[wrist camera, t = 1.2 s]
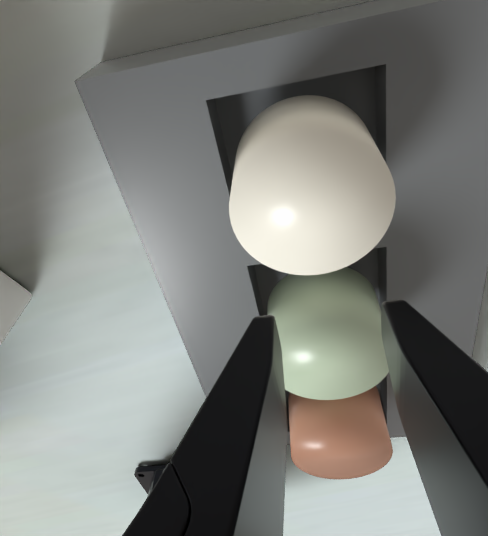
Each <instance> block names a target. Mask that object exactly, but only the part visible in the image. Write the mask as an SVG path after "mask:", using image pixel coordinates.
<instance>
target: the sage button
mask: <svg viewBox="0 0 488 536" xmlns="http://www.w3.org/2000/svg"><path fill="white" fill-rule="evenodd" d="M267 315H273V316H274V317H275V320H276V324H277V329H278V334H279V338H280V343H281V349H282V360H283V372H284V384H285V390H287V391H289V392H291V393H293V394H295V395H298V396H301V397H304V398H309V399H316V400H336V399H343V398H348V397H352V396H355V395H358V394H361V393H363V392H365V391H367V390H369V389H371V388H373V387H374V386H376V385H377V384H378V383H380V382H381V381H382V380H383V379H384V378H385V377H386V375H387V374H388V373H389V369H388V364H387V359H386V355H385V350H384V346H383V341H382V333H381V309H380V306H379V303H378V299H377V296H376V293H375V290H374V288H373V286H372V284H371V283H370V282H369V281H368V280H367V279H366V278H365V277H364V276H363V275H362V274H360V273H359V272H357V271H355V270H353V269H350V268H347V267H344V268H342V269H339V270H337V271H333V272H330V273H325V274H319V275H294V274H288V275H287V276H285V277H284V278H283V279H282V280H281V281H279V282H278V283H277V285H276V286H275V287H274V288H273V290H272V292H271V294H270V296H269V299H268V306H267Z"/></svg>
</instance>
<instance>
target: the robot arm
mask: <svg viewBox="0 0 488 536" xmlns="http://www.w3.org/2000/svg"><path fill="white" fill-rule="evenodd" d="M381 333H382V341H383V346H384V350H385V355H386V359H387V364H388V369H389V373H390V378H391V382H392V387H393V391H394V396H395V400H396V405H397V408H398V412H399V416H400V419H401V422H402V425H403V428H404V431H405V434H406V437H407V440H408V443H409V445H410V448H411V451H412V454H413V457H414V459H415V462H416V465H417V468H418V471H419V474H420V476H421V479H422V482H423V485H424V488H425V491H426V493H427V496H428V499H429V502H430V505H431V508H432V510H433V513H434V516H435V519H436V522H437V525H438V527H439V530H440V533H441V536H488V372H487V371H486V370H485V369H484V368H483V367H481V366H480V365H479V364H478V363H477V362H476V361H475V360H473V359H472V358H471V357H470V356H469V355H468V354H466V353H465V352H464V351H463V350H462V349H461V348H460V347H458V346H457V345H456V344H455V343H454V342H453V341H451V340H450V339H449V338H448V337H447V336H446V335H445V334H443V333H442V332H441V331H440V330H439V329H438V328H436V327H435V326H434V325H433V324H432V323H431V322H430V321H428V320H427V319H426V318H425V317H424V316H423V315H421V314H420V313H419V312H418V311H417V310H416V309H415V308H413V307H412V306H411V305H410V304H409V303H408V302H406V301H405V300H392V301H385V302H383V303H382V305H381ZM286 449H287V409H286V397H285V384H284V372H283V360H282V349H281V343H280V338H279V334H278V329H277V324H276V320H275V317H274V316H273V315H264V316H256V317H254V318H253V319H252V321H251V322H250V324H249V326H248V327H247V329H246V331H245V333H244V334H243V336H242V338H241V339H240V341H239V343H238V345H237V346H236V348H235V350H234V351H233V353H232V355H231V357H230V358H229V360H228V362H227V363H226V365H225V367H224V369H223V370H222V372H221V374H220V375H219V377H218V379H217V381H216V382H215V384H214V386H213V387H212V389H211V391H210V392H209V394H208V396H207V398H206V399H205V401H204V403H203V404H202V406H201V408H200V410H199V411H198V413H197V415H196V416H195V418H194V420H193V422H192V423H191V425H190V427H189V428H188V430H187V432H186V434H185V435H184V437H183V439H182V440H181V442H180V444H179V446H178V447H177V449H176V451H175V452H174V454H173V456H172V458H171V463H172V464H171V463H168V464H167V465H160V466H145V467H137V468H136V470H135V474H134V475H135V477H136V478H137V480H138V481H139V482H140V484H141V485H142V487H143V488H144V489H145V491H146V492H147V494H148V497H147V499H146V501H145V502H144V504H143V505H142V507H141V509H140V510H139V512H138V513H137V515H136V516H135V518H134V519H133V521H132V522H131V524H130V525H129V526H128V528H127V529H126V531H125V532H124V534H123V535H122V536H283V520H284V496H285V473H286Z"/></svg>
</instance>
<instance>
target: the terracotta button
mask: <svg viewBox="0 0 488 536" xmlns="http://www.w3.org/2000/svg"><path fill="white" fill-rule="evenodd" d="M288 404H289V425H290V446H291V458H292V461H293V462H294V464H295V465H296V466H297V467H298V468H299V469H301V470H302V471H304V472H306V473H308V474H310V475H313V476H317V477H321V478H327V479H351V478H357V477H362V476H365V475H368V474H371V473H373V472H375V471H377V470H379V469H381V468H382V467H384V466H385V465H386V464H387V463H388V462H389V460H390V459H391V457H392V453H393V449H392V444H391V440H390V436H389V432H388V428H387V424H386V420H385V416H384V412H383V408H382V404H381V400H380V396H379V392H378V389H377V387H376V386H374V387H373V388H371V389H369V390H367V391H365V392H363V393H361V394H358V395H355V396H352V397H348V398H343V399H336V400H316V399H309V398H304V397H301V396H298V395H295V394H293V393H291V392H290V393H289V397H288Z"/></svg>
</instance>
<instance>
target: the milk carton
mask: <svg viewBox="0 0 488 536" xmlns="http://www.w3.org/2000/svg"><path fill="white" fill-rule="evenodd" d="M31 298H32V294H31V293H30V292H29V291H27V290H26V289H25V288H23V287H22V286H21V285H19V284H18V283H17V282H15V281H14V280H13V279H11V278H10V277H9V276H7V275H6V274H4V273H3V272H2V271H0V345H1V344H2V342H3V341H4V339H5V338H6V336H7V335H8V333H9V332H10V330H11V329H12V327H13V326H14V324H15V323H16V321H17V320H18V318H19V317H20V315H21V314H22V312H23V310H24V309H25V307H26V306H27V304H28V303H29V301H30V300H31Z"/></svg>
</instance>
